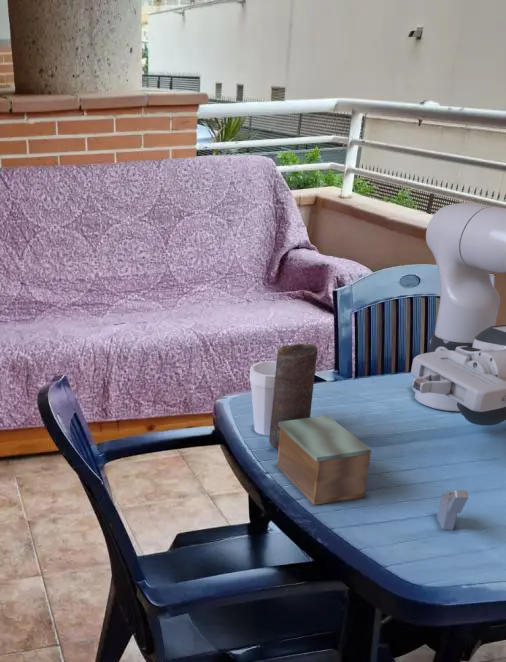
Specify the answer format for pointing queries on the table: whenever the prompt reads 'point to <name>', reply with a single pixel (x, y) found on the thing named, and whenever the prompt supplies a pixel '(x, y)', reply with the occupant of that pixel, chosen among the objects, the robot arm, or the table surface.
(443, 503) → the lighter
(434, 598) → the table surface
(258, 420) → the foam cup
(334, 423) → the pale green flat panel
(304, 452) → the box
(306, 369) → the dark brown rough cylinder
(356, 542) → the table surface
